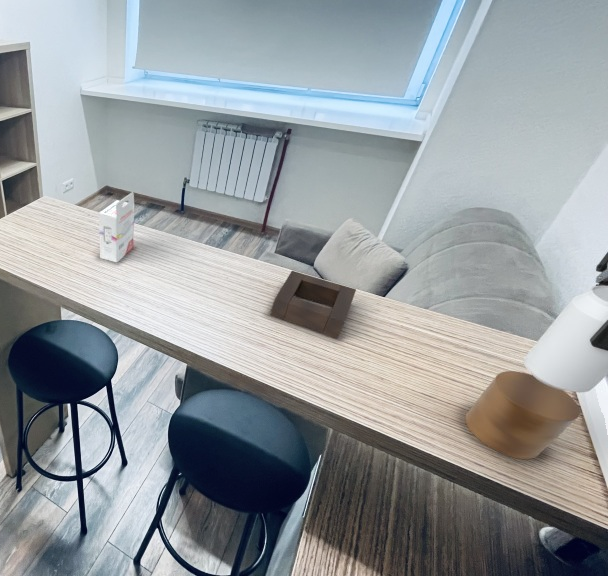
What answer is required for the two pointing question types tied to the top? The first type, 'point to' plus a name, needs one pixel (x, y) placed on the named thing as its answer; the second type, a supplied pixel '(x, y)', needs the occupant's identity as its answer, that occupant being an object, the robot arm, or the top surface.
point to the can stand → (309, 312)
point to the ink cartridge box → (117, 229)
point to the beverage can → (572, 345)
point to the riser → (520, 415)
